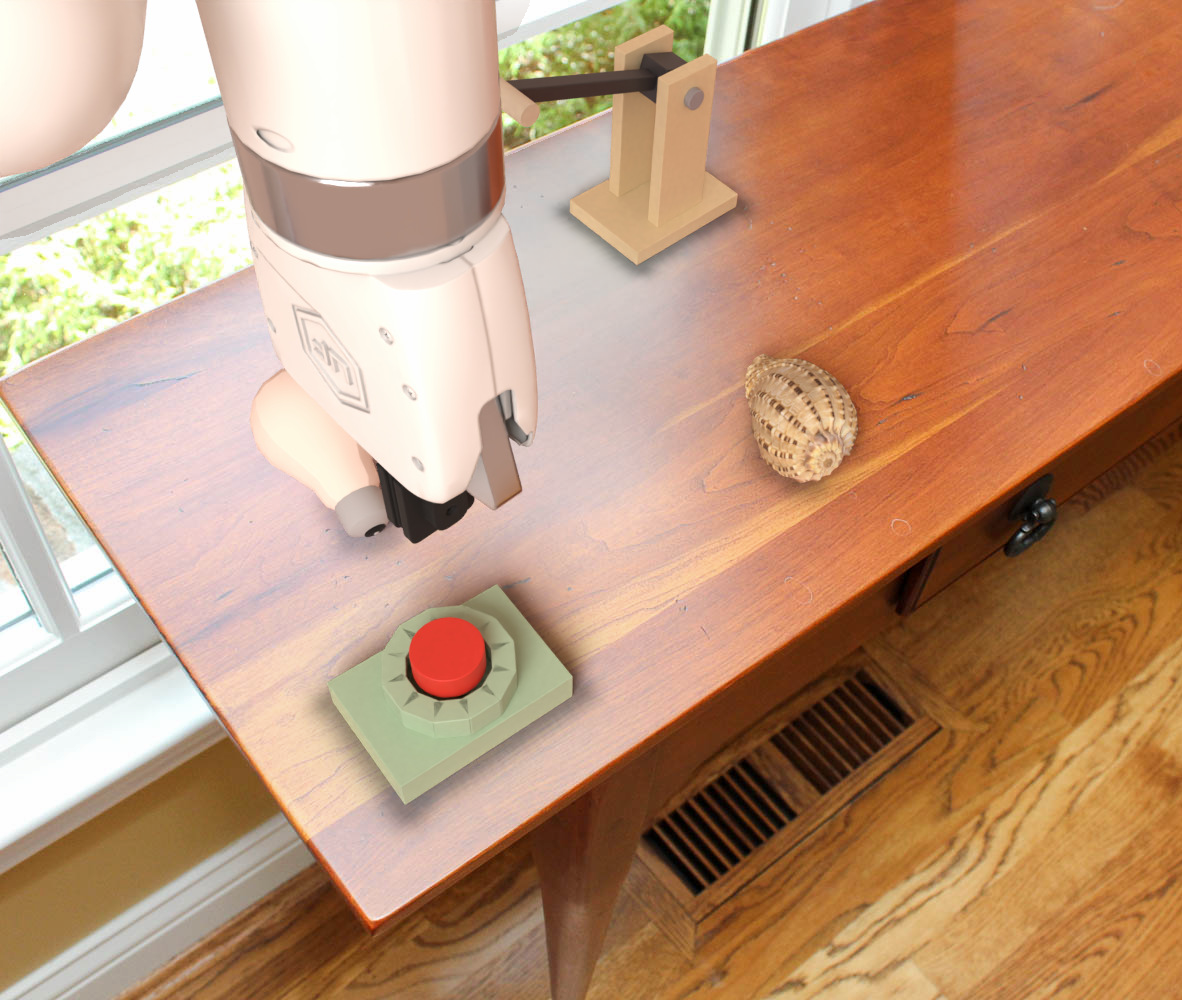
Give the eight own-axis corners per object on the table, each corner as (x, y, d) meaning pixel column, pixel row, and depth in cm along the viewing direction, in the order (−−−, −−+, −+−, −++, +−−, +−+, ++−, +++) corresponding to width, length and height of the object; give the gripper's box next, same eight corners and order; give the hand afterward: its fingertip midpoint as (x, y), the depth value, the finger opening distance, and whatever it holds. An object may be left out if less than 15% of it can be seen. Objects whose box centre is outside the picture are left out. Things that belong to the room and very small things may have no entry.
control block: (405, 805, 60) (396, 771, 57) (332, 702, 63) (320, 664, 60) (572, 696, 65) (573, 659, 62) (498, 604, 67) (495, 564, 64)
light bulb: (422, 487, 66) (325, 323, 68) (308, 548, 64) (212, 378, 66) (437, 520, 72) (348, 370, 74) (334, 577, 70) (246, 421, 72)
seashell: (709, 452, 79) (805, 509, 72) (692, 370, 76) (792, 421, 69) (801, 405, 83) (902, 455, 76) (789, 325, 79) (894, 369, 72)
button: (437, 711, 59) (434, 694, 58) (398, 658, 61) (394, 641, 59) (500, 672, 61) (499, 655, 60) (461, 622, 62) (458, 604, 61)
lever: (516, 136, 69) (525, 96, 67) (459, 92, 71) (467, 53, 69) (699, 112, 81) (710, 77, 79) (647, 75, 82) (657, 41, 81)
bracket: (636, 265, 85) (647, 109, 75) (569, 212, 87) (570, 54, 77) (736, 206, 90) (758, 52, 80) (670, 158, 92) (683, 2, 82)
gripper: (117, 74, 37) (247, 454, 51) (430, 354, 32) (475, 687, 46) (331, -8, 40) (395, 368, 55) (641, 231, 35) (622, 575, 50)
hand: (432, 513), depth 51 cm, fingers closed
